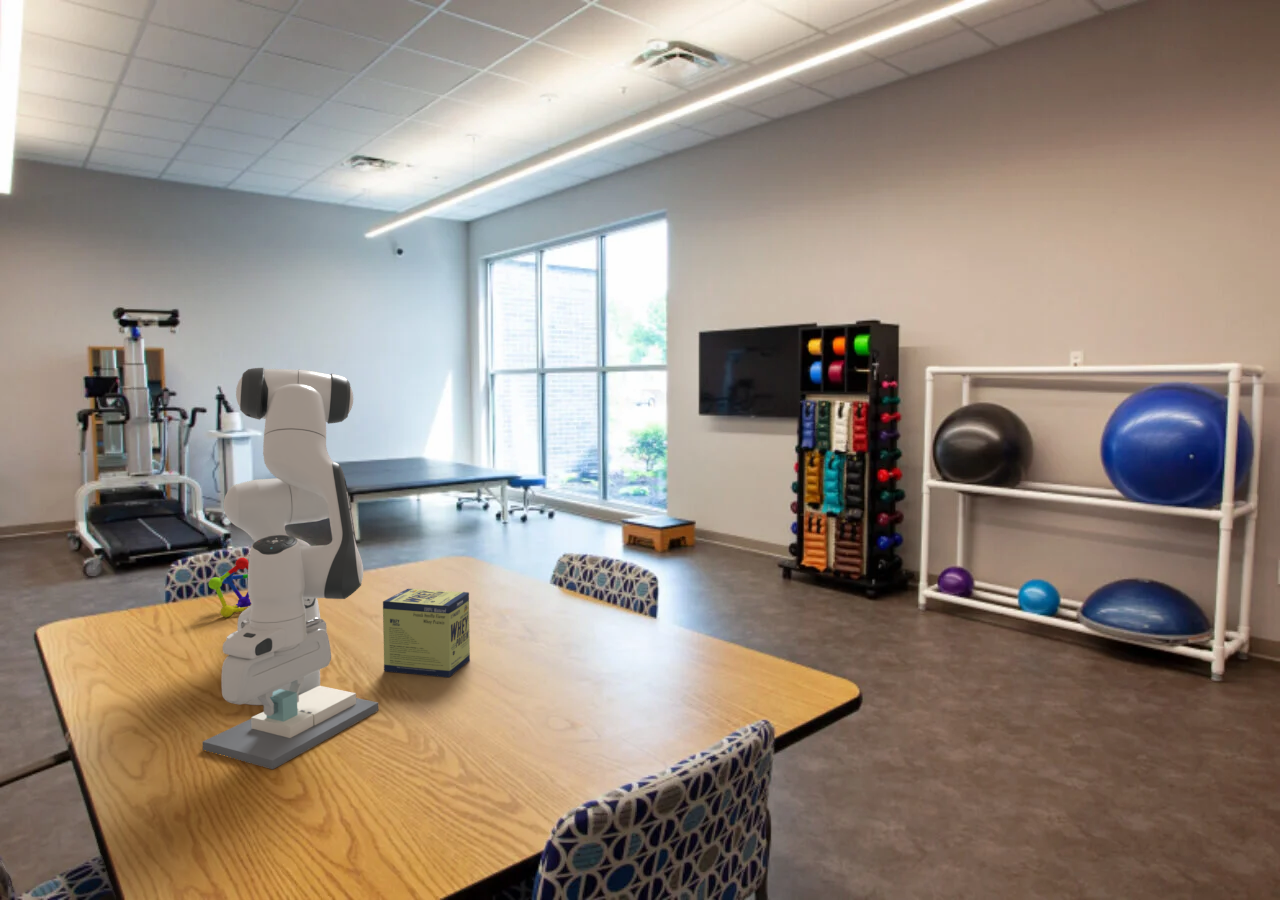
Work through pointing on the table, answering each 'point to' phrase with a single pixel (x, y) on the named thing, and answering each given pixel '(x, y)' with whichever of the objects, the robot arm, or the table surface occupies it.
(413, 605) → the protein box
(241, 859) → the table surface
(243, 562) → the educational toy
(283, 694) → the cube on white base
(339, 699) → the pad
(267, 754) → the desk mat
